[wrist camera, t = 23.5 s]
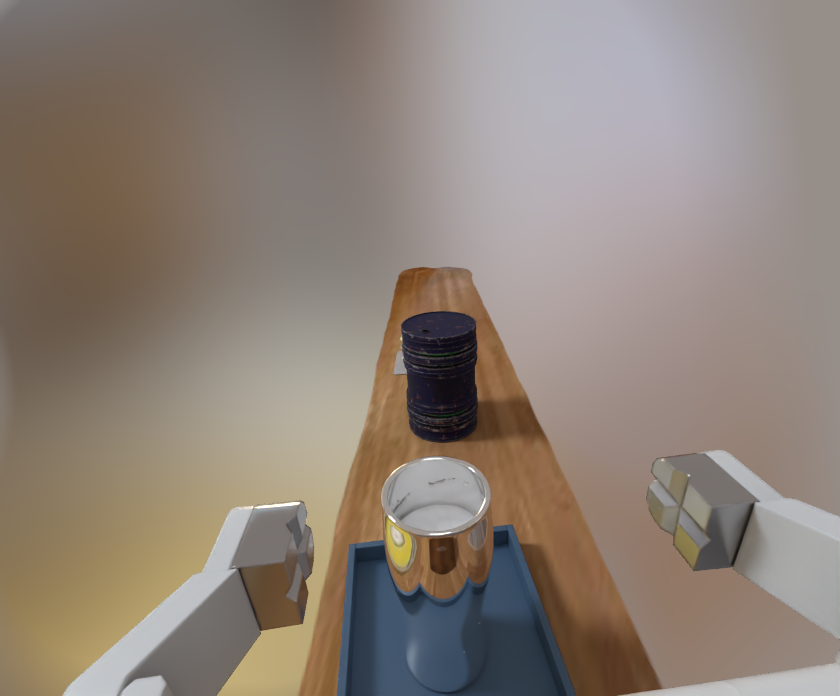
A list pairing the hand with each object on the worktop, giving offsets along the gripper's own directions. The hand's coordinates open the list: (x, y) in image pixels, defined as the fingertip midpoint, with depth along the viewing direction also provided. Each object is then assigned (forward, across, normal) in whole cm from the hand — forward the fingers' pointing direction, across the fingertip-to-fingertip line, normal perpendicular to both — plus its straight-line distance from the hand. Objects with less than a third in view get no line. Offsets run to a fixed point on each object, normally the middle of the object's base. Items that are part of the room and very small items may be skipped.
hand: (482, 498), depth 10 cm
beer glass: (+12, 0, +26) cm, 28 cm away
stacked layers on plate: (+63, -2, +27) cm, 68 cm away
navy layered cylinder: (+42, -4, +27) cm, 50 cm away
